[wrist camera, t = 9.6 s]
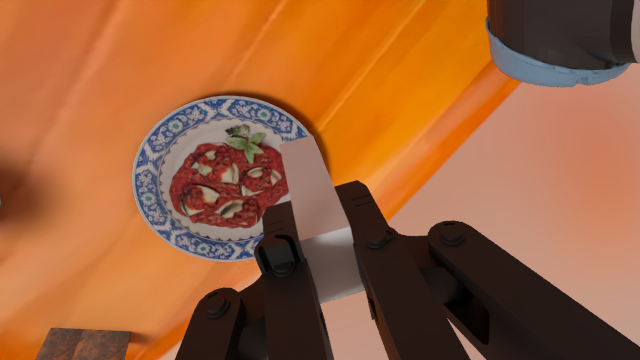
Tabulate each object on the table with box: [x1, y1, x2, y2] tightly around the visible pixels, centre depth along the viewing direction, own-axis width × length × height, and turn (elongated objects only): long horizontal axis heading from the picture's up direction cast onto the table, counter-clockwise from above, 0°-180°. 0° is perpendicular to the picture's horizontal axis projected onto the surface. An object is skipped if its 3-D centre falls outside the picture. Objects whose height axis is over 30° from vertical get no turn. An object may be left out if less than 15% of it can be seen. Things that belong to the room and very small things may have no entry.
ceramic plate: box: [132, 96, 321, 262], centre depth 52 cm, size 26×26×3 cm
